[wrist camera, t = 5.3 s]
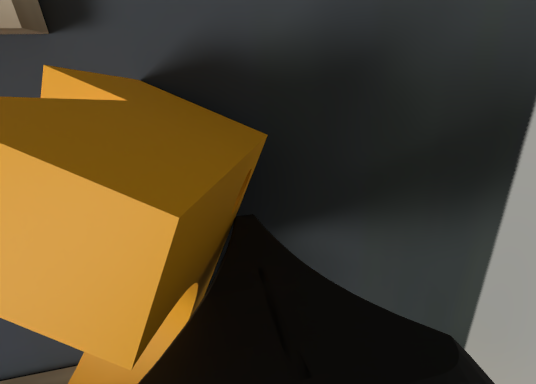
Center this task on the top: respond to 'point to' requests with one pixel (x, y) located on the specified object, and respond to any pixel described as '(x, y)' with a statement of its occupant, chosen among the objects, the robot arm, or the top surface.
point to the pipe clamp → (114, 215)
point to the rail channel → (29, 22)
